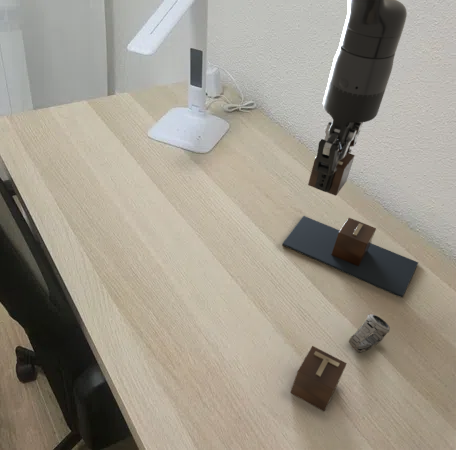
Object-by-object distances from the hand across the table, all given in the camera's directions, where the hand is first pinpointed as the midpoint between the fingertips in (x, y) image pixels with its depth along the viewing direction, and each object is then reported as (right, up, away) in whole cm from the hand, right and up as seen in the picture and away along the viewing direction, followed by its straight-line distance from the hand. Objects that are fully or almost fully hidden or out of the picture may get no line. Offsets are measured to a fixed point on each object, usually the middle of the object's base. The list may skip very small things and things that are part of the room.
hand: (328, 180), depth 86 cm
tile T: (-6, -28, -14) cm, 32 cm away
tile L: (0, 0, 0) cm, 1 cm away
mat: (+5, -12, +5) cm, 14 cm away
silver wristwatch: (+2, -24, -8) cm, 25 cm away
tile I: (+5, -11, +5) cm, 14 cm away
